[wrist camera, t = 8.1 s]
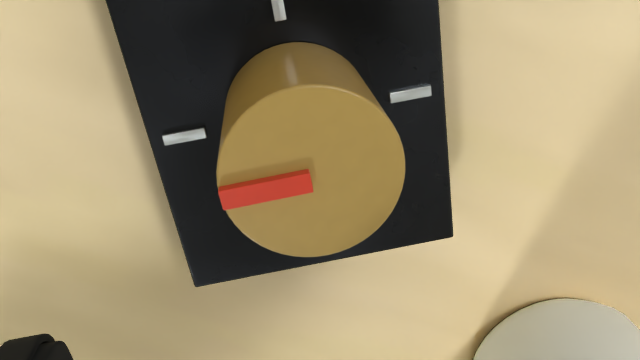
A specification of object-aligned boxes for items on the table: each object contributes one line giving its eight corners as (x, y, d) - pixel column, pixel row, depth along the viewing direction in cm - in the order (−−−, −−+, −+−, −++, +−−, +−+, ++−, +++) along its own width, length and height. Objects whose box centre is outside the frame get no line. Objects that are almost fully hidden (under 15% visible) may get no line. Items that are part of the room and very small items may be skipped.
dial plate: (435, 207, 24) (455, 239, 21) (200, 252, 24) (194, 290, 21) (410, -109, 19) (433, -113, 16) (108, -56, 18) (86, -52, 16)
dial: (358, 28, 18) (398, 69, 13) (377, 165, 20) (417, 244, 15) (208, 57, 18) (192, 110, 13) (243, 192, 20) (240, 280, 15)
